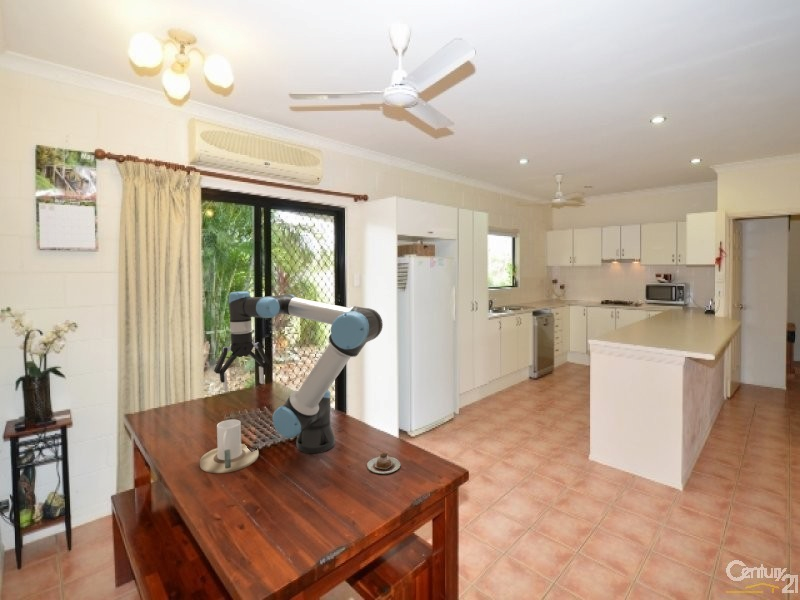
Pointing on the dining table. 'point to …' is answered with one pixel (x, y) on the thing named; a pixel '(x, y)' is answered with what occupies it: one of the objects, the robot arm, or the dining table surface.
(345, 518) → the dining table surface
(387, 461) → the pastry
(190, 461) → the dining table surface
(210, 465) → the cream saucer dish
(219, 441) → the mug
